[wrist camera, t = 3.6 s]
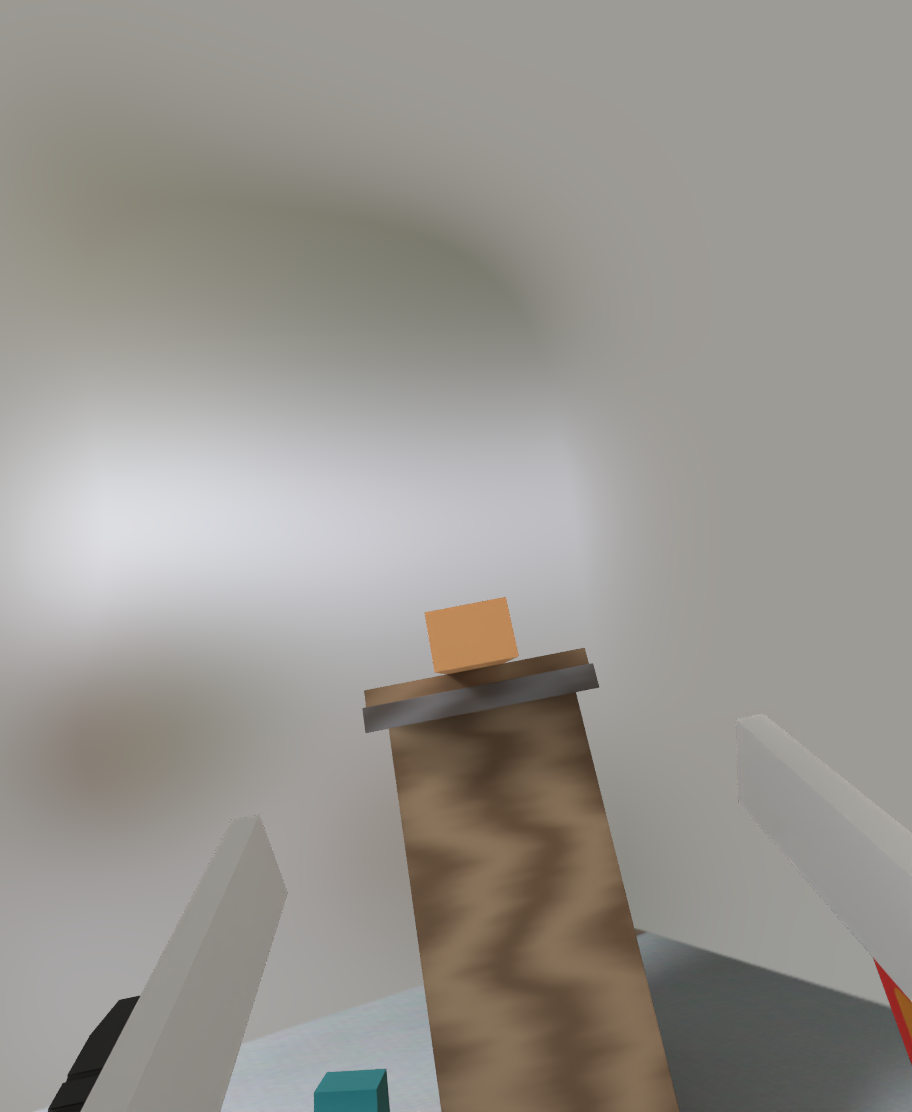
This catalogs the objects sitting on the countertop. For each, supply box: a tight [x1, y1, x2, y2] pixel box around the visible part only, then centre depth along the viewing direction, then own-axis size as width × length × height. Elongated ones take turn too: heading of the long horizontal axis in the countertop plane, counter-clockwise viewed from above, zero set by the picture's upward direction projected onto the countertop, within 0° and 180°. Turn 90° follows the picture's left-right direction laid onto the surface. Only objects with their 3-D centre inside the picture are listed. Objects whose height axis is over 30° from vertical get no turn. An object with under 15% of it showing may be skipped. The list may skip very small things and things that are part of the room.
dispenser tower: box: [363, 648, 680, 1112], centre depth 32 cm, size 14×19×30 cm
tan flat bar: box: [425, 597, 519, 674], centre depth 31 cm, size 4×26×2 cm, turn 178°
